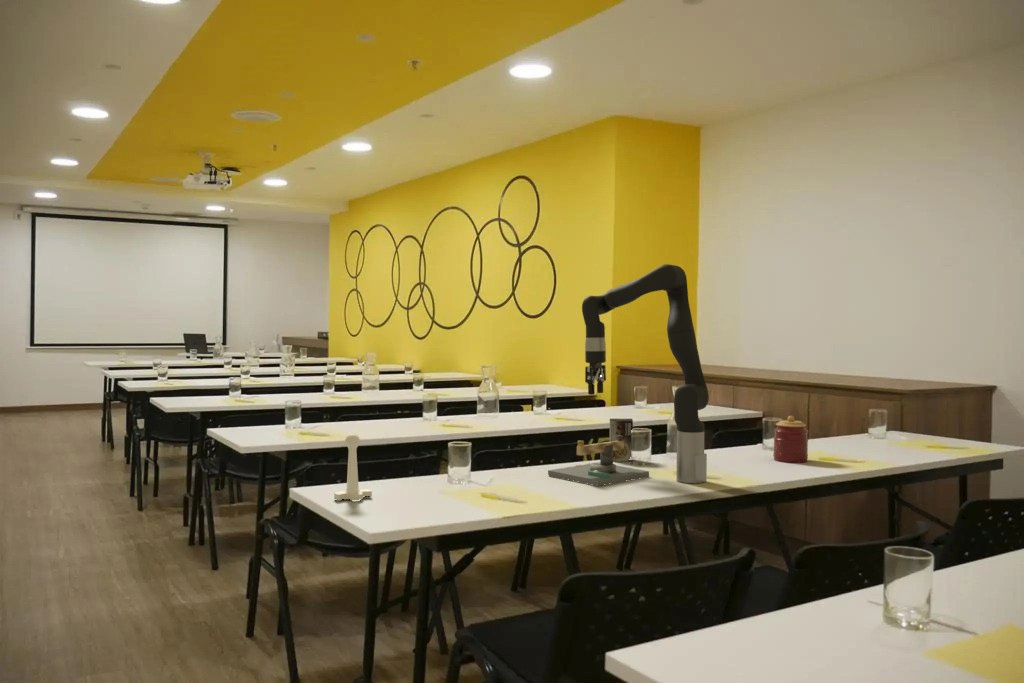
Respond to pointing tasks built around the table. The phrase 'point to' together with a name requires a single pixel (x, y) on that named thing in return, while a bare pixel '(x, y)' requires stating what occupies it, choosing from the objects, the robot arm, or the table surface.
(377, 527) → the table surface
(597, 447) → the wooden pivot lever
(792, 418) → the canister
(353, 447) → the joystick
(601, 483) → the board
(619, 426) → the coffee box
